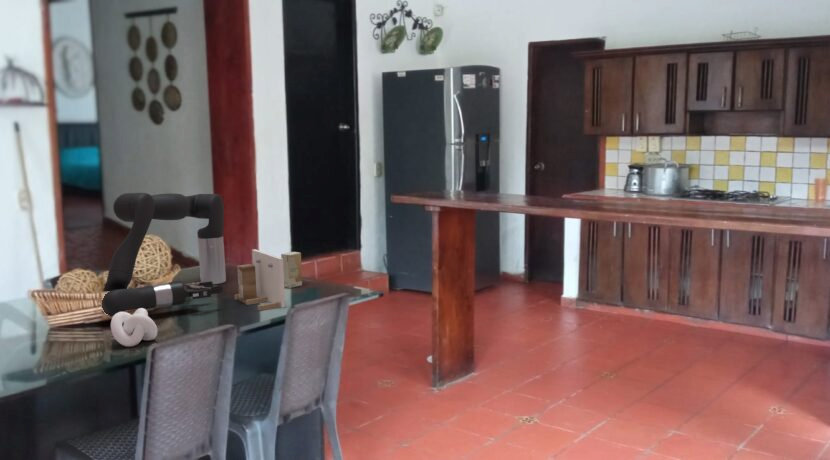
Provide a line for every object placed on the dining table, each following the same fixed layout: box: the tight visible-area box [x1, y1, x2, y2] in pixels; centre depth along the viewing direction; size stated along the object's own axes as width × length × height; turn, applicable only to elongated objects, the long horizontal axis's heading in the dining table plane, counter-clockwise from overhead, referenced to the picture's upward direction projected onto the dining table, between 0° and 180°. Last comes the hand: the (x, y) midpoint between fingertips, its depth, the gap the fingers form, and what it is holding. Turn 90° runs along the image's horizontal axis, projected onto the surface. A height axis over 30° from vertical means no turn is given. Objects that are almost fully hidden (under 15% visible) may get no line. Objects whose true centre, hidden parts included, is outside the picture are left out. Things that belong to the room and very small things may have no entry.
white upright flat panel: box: [234, 248, 286, 312], centre depth 255 cm, size 22×9×16 cm, turn 35°
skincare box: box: [280, 251, 303, 289], centre depth 279 cm, size 6×4×12 cm
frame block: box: [236, 263, 258, 304], centre depth 258 cm, size 4×5×12 cm
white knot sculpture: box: [110, 308, 159, 348], centre depth 215 cm, size 11×12×9 cm
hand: (217, 286), depth 253 cm, fingers open, 8 cm apart
